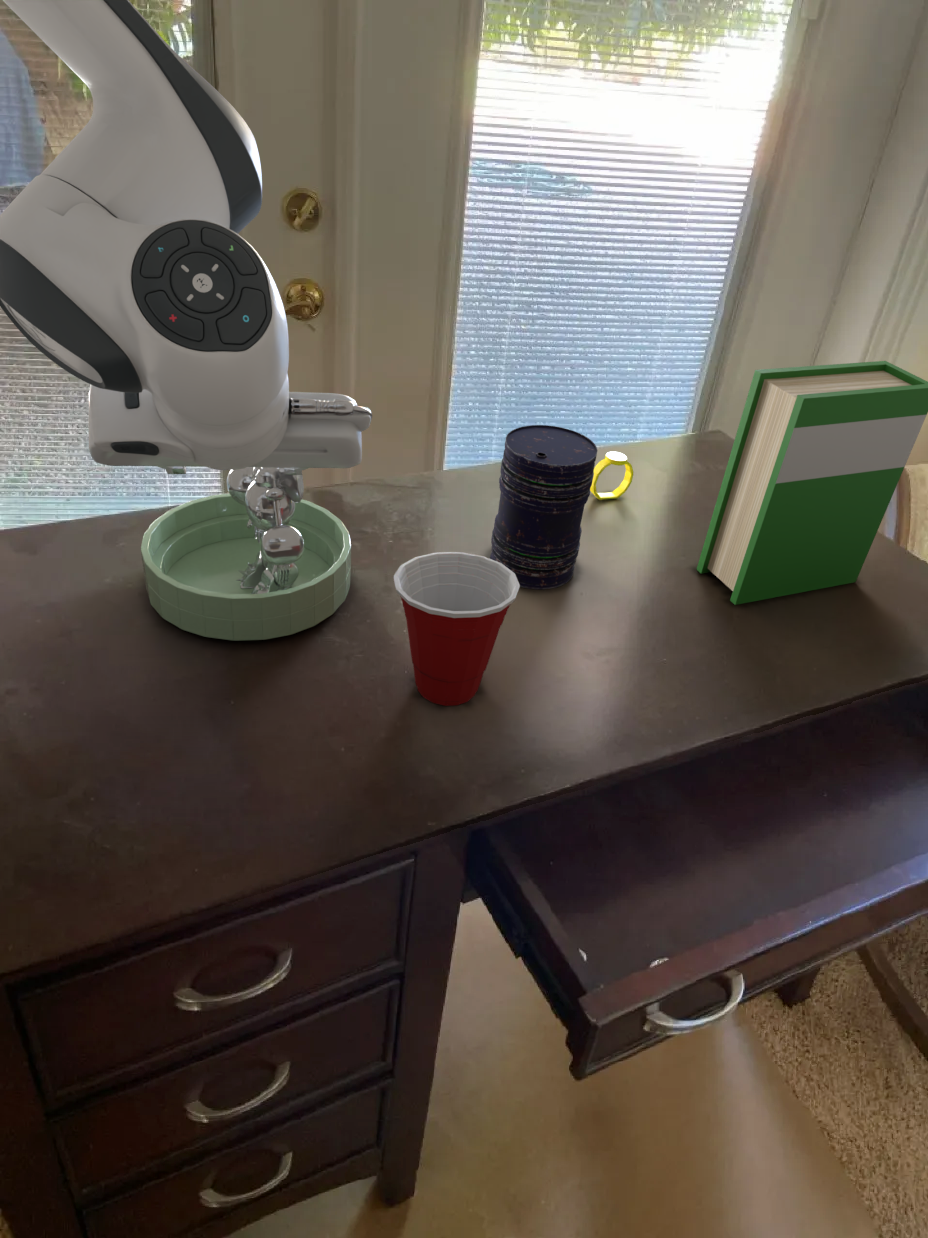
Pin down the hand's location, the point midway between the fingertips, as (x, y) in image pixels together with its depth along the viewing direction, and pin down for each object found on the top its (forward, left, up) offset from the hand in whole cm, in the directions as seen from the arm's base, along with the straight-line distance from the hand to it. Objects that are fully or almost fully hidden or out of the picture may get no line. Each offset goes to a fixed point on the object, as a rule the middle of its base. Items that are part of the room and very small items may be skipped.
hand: (235, 465), depth 75 cm
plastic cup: (+18, -8, -19) cm, 27 cm away
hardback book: (+60, +9, -18) cm, 64 cm away
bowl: (0, +9, -18) cm, 20 cm away
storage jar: (+31, +12, -18) cm, 38 cm away
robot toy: (+2, +9, -18) cm, 20 cm away
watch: (+45, +28, -19) cm, 56 cm away
